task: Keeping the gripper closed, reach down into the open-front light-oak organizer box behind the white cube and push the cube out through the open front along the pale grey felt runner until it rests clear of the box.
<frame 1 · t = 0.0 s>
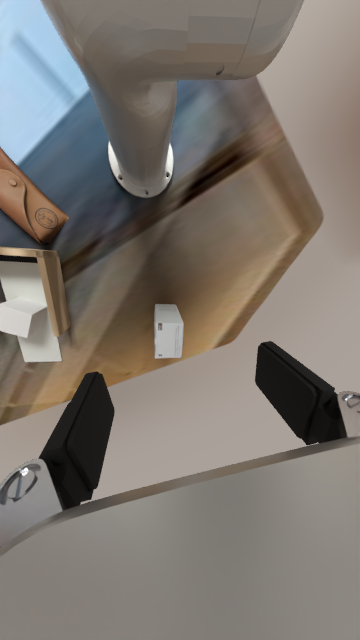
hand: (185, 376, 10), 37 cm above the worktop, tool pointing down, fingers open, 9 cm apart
organizer: (26, 290, 40), on the worktop
white cube: (31, 312, 42), resting on runner
runner: (33, 317, 42), on the worktop
skincare box: (164, 316, 48), on the worktop
sunglasses case: (20, 194, 34), on the worktop
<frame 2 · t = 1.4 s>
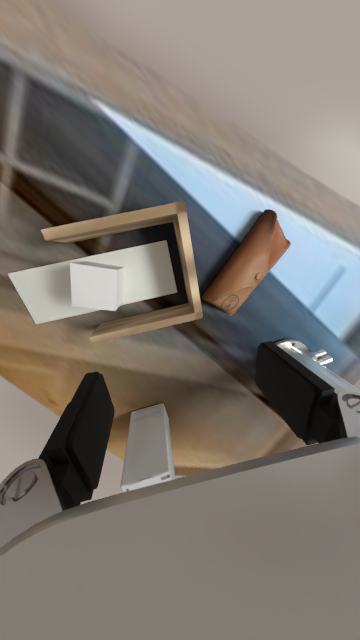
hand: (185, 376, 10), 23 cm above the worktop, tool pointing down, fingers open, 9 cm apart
organizer: (137, 275, 30), on the worktop
white cube: (106, 282, 30), resting on runner
runner: (99, 283, 30), on the worktop
skincare box: (151, 413, 42), on the worktop
sunglasses case: (243, 269, 33), on the worktop
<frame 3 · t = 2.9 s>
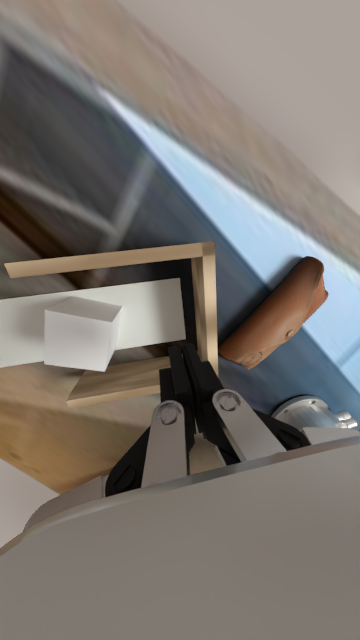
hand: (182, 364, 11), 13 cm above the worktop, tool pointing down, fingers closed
organizer: (137, 316, 24), on the worktop
white cube: (96, 321, 23), resting on runner
runner: (87, 323, 23), on the worktop
sunglasses case: (269, 318, 27), on the worktop
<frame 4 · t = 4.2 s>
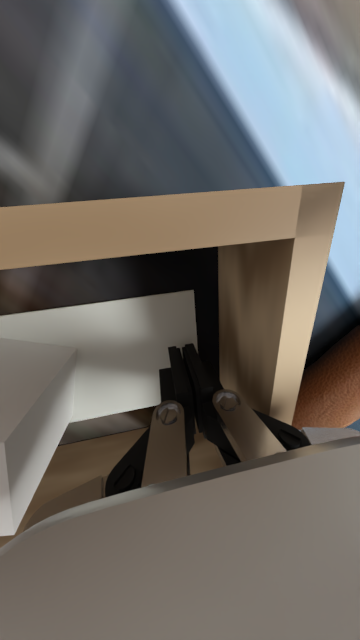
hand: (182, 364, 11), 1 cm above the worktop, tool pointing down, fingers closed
organizer: (110, 364, 12), on the worktop
white cube: (27, 378, 12), resting on runner
runner: (7, 381, 11), on the worktop
sunglasses case: (340, 356, 16), on the worktop
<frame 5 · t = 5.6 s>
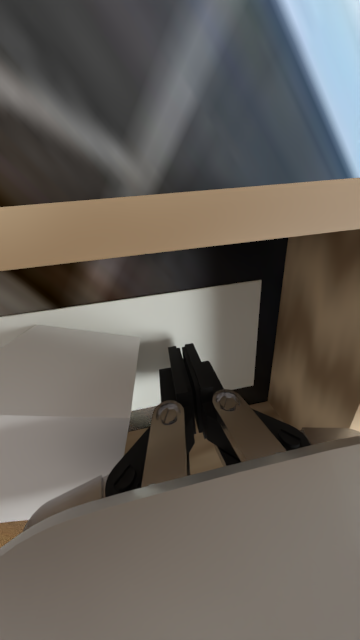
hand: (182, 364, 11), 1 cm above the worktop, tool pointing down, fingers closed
organizer: (174, 353, 13), on the worktop
white cube: (90, 368, 12), resting on runner, touching gripper
runner: (79, 370, 12), on the worktop
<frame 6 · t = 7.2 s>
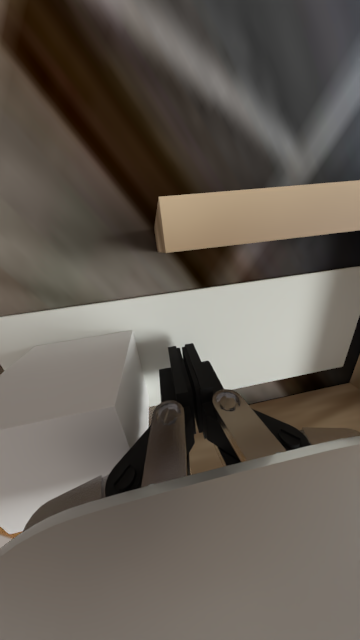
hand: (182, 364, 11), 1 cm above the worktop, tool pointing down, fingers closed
organizer: (284, 333, 14), on the worktop
white cube: (99, 373, 12), resting on runner, touching gripper
runner: (202, 347, 13), on the worktop
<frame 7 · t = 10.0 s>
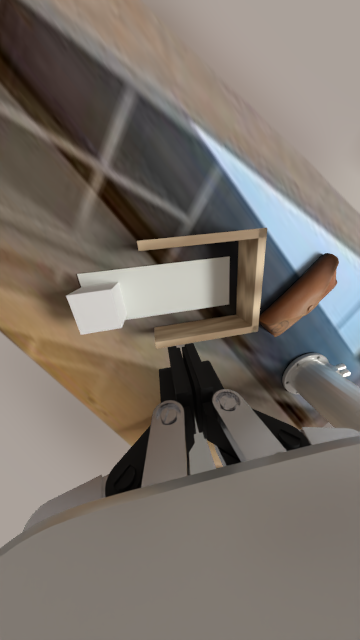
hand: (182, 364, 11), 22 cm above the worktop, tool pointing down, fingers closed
organizer: (196, 286, 32), on the worktop
white cube: (105, 301, 30), resting on runner
runner: (160, 290, 31), on the worktop
skincare box: (181, 414, 44), on the worktop
sunglasses case: (294, 298, 37), on the worktop
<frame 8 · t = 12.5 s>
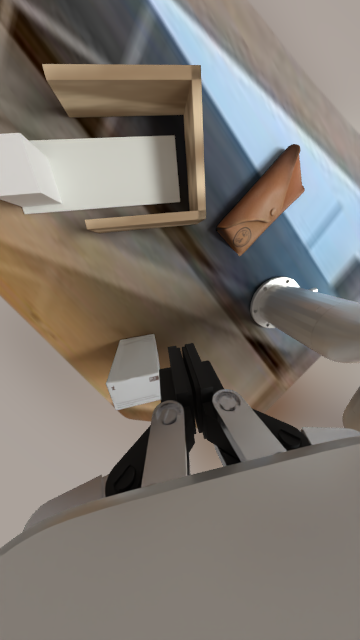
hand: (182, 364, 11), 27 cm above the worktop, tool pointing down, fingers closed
organizer: (140, 173, 29), on the worktop
white cube: (35, 183, 27), resting on runner
runner: (99, 175, 28), on the worktop
skincare box: (140, 345, 41), on the worktop
sunglasses case: (258, 208, 34), on the worktop
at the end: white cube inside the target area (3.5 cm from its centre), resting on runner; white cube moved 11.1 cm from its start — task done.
